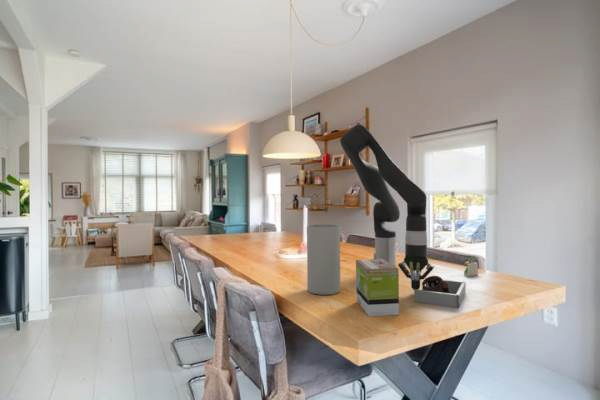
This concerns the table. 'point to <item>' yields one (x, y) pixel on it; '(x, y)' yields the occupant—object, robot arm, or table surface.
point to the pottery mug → (435, 285)
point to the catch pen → (443, 295)
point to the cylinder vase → (323, 259)
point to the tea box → (377, 287)
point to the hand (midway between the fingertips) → (415, 289)
